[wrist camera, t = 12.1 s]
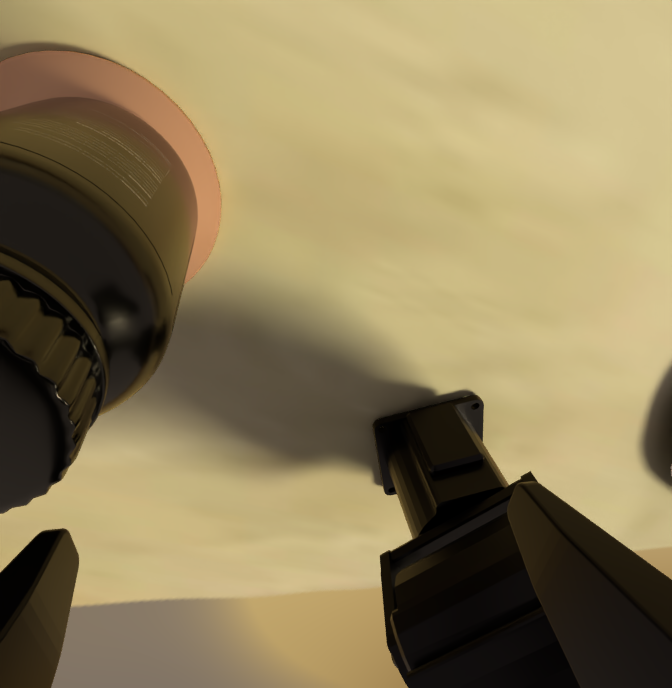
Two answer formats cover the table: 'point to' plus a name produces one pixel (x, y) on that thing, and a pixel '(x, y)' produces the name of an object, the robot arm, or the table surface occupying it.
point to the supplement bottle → (82, 276)
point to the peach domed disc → (133, 96)
